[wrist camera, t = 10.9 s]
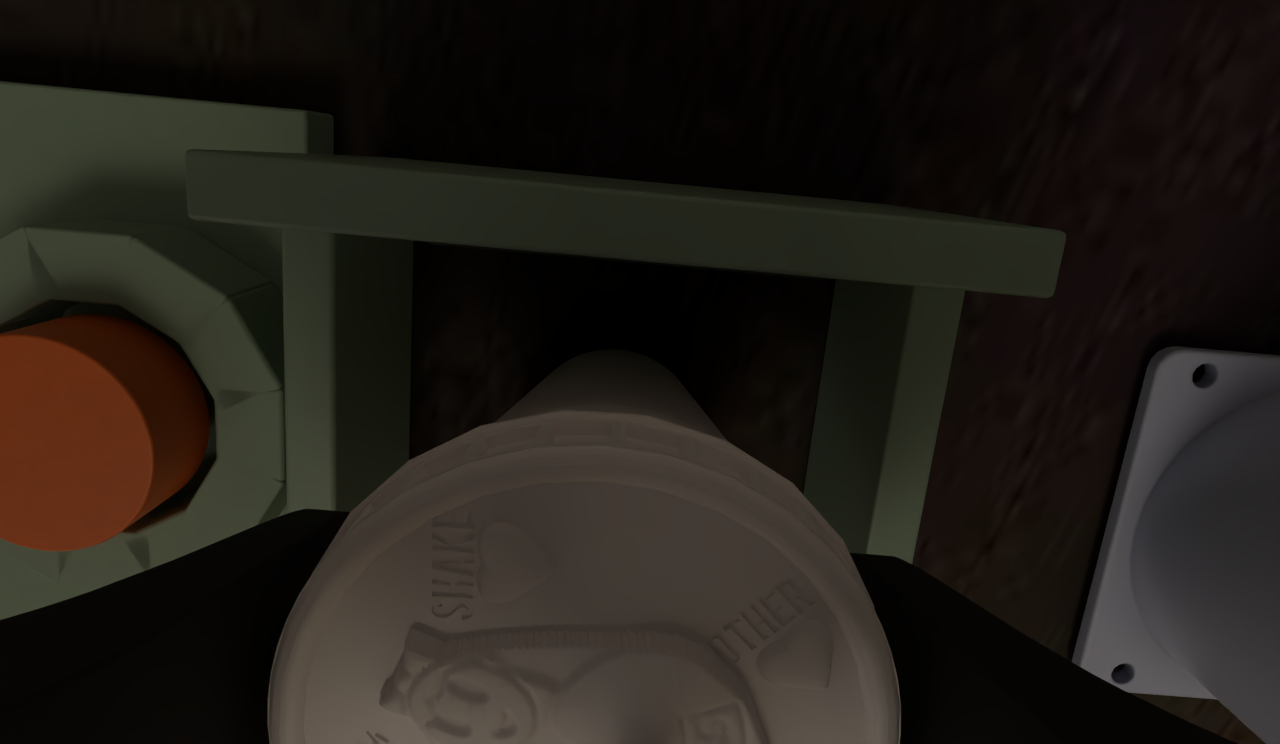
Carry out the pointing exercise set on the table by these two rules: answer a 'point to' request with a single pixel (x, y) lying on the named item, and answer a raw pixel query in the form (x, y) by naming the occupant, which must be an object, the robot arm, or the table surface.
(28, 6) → the table surface
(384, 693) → the smoothie
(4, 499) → the button
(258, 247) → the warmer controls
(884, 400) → the frame
